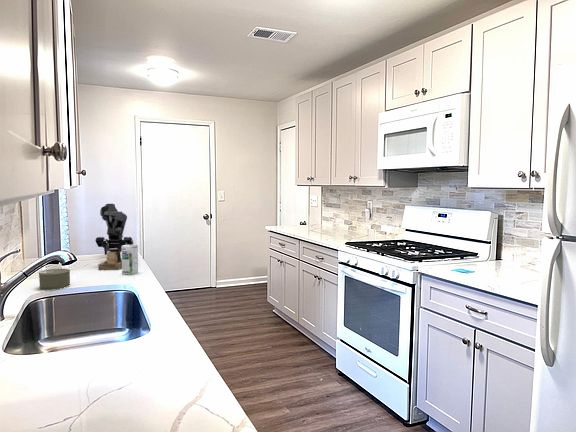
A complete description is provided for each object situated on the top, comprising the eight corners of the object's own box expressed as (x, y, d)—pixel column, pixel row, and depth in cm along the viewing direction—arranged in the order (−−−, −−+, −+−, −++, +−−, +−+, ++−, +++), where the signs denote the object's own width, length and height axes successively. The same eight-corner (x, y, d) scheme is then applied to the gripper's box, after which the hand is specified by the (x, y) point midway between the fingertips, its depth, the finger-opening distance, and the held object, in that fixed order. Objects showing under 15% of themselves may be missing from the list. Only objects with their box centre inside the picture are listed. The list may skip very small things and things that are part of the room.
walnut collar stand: (106, 266, 224) (105, 260, 223) (125, 266, 224) (125, 260, 224) (98, 270, 213) (98, 264, 213) (119, 269, 214) (118, 264, 214)
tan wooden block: (109, 267, 221) (109, 251, 220) (117, 267, 221) (117, 251, 220) (107, 268, 217) (106, 253, 216) (115, 268, 217) (114, 253, 216)
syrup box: (121, 274, 204) (120, 245, 203) (129, 271, 209) (128, 244, 208) (131, 275, 202) (130, 246, 201) (138, 272, 208) (138, 244, 207)
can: (70, 288, 176) (69, 272, 176) (37, 291, 171) (37, 275, 170) (71, 282, 187) (70, 267, 186) (40, 285, 182) (40, 269, 181)
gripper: (96, 222, 220) (88, 245, 210) (131, 222, 222) (125, 245, 212) (102, 235, 229) (94, 258, 219) (136, 234, 230) (130, 257, 220)
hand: (111, 254), depth 217 cm, fingers open, 6 cm apart
